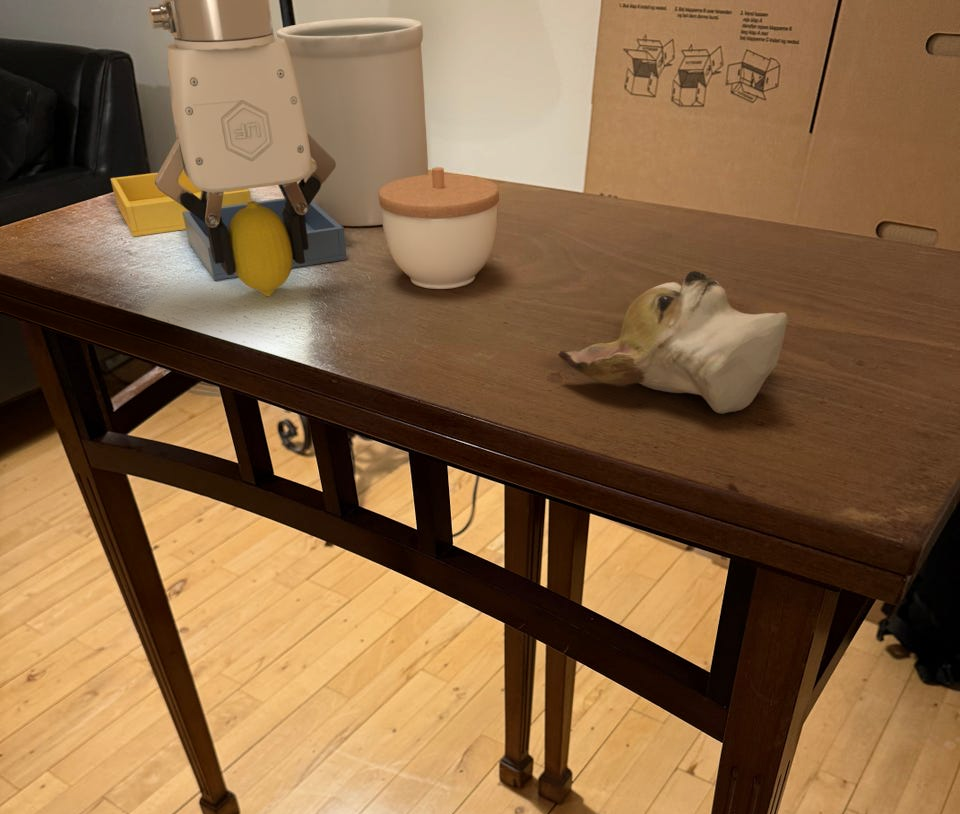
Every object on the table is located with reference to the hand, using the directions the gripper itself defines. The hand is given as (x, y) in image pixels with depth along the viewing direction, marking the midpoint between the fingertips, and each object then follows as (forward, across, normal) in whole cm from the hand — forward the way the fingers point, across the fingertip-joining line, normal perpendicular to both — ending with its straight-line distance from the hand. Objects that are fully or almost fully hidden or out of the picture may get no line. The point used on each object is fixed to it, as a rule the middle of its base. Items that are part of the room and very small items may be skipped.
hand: (262, 262), depth 81 cm
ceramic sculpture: (+3, +22, -33) cm, 40 cm away
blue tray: (+3, +3, +13) cm, 14 cm away
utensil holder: (+3, +17, +22) cm, 28 cm away
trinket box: (+3, +16, -3) cm, 17 cm away
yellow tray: (+3, -2, +31) cm, 31 cm away
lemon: (+3, 0, 0) cm, 3 cm away
